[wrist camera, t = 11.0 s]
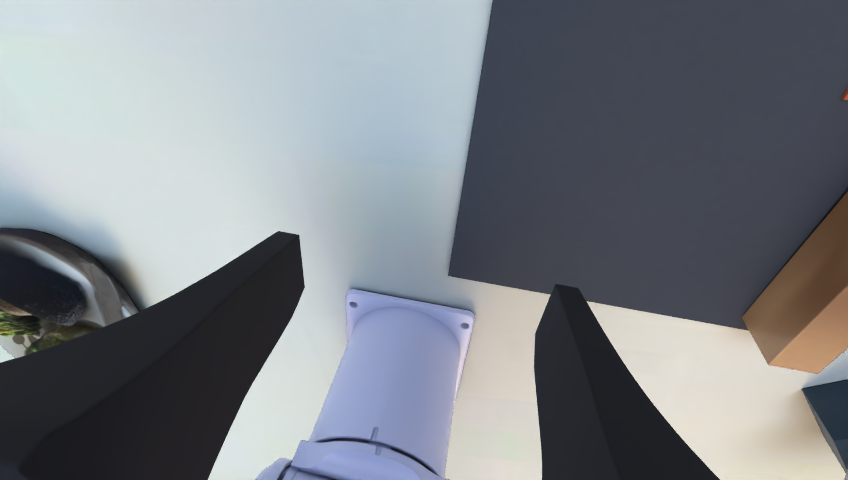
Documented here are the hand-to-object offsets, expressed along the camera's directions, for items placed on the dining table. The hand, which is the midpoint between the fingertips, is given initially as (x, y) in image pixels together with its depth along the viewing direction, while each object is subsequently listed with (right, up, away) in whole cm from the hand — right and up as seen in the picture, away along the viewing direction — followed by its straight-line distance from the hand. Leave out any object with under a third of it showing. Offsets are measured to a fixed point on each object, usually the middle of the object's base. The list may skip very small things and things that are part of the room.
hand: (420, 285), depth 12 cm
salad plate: (-28, -4, +21) cm, 35 cm away
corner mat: (+12, +5, +5) cm, 14 cm away
